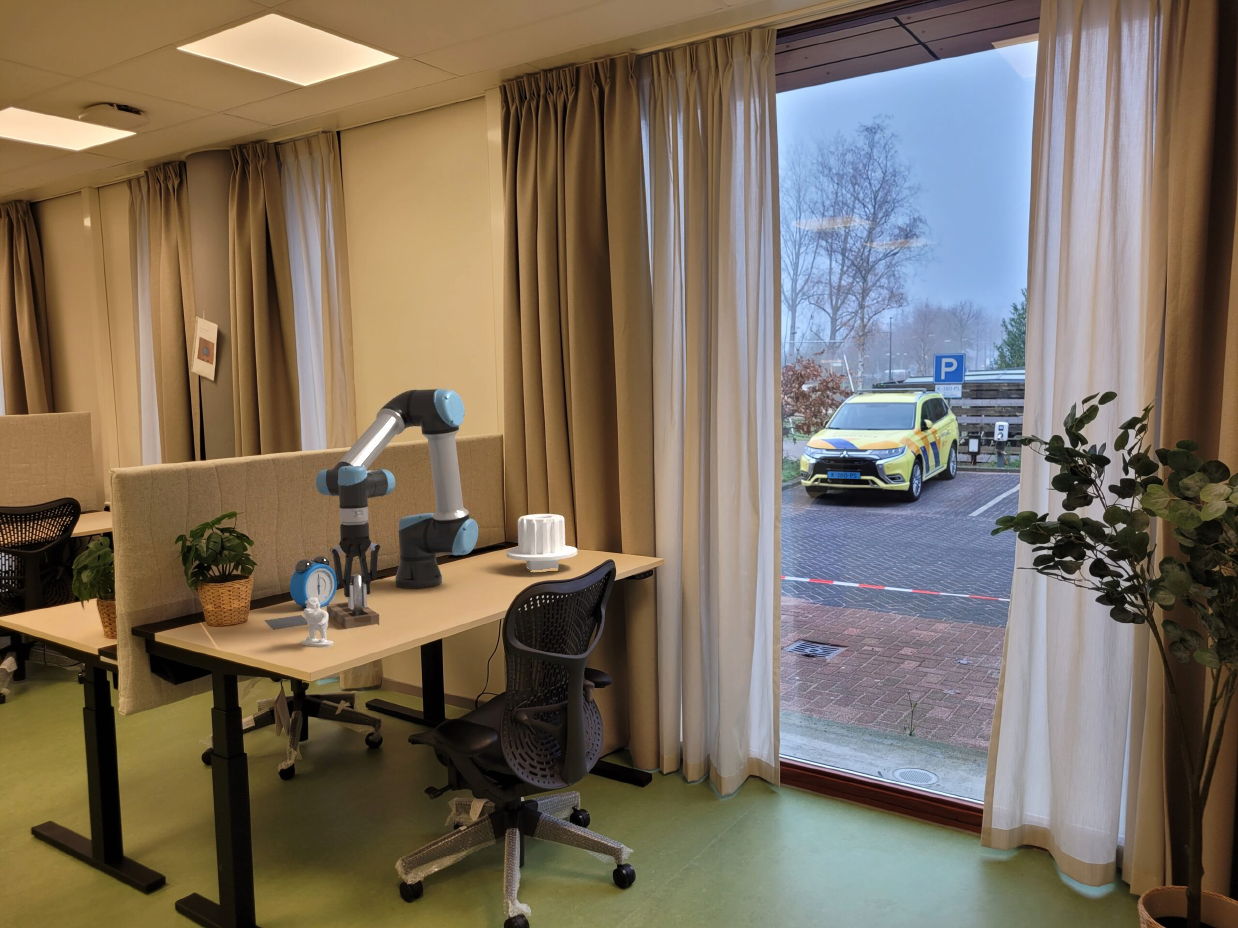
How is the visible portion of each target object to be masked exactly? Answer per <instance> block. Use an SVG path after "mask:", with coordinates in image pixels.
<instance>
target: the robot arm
mask: <svg viewBox="0 0 1238 928" xmlns="http://www.w3.org/2000/svg"><path fill="white" fill-rule="evenodd" d="M465 411H466V409H465V405H464V402H463V399H462V398H461V396H460V395H459V394H458V393H457V392H456V391H454V390H452V389H446V388H445V389H444V388H431V389H410V390H406V391H404V392H401V393H399V394H397V395H396V396H395V397H393V398H392V399H390V400H389V401H388V402H386V403H385V404H384V405H383V406H382V407H381V408H380V409H379V411H377V413H376V418H375V420H374V421H373V422H372V423H371V425H370V426H368V428H367V429H366V430H365V432H364V433H363V434H362V435H361V436H359V438H358V439H357V440H356V442H355V443H354V444H353V445H352V446H351V447H350V448H349V449H348V451H347V452H346V453H344V455H343V456H342V457H341V458H340V459H339V461H338V462H337V463H336V464H335V465H334V467H333V468H331V469H330V468H327V469H322V470H320V471H319V472H318V473H317V474H316V477H315V487H316V490H317V491H318V492H319V494H321V495H323V496H331V497H338V498H339V509H338V510H339V523H340V525H339V530H340V532H339V533H340V540H339V543H338V545H337V546H336V547H331V548H330V549H329V552H330V553H331V556H332V557H333V564H334V565H333V566H334V572H335V574H336V581H337V584H339V585H343V595H344V597H345V598H347V602H348V608H350V609H354V600H353V585H351V575H352V568H353V561H354V558H355V557H358V560H359V567H360V571H361V575H362V585H363V607H364V608H366V607H368V598H367V597H368V595H370V593H371V585H370V584H371V583H372V581H376V580H377V572H378V556H379V551H380V548H381V545H380V544H377V543H375V542H372V540H371V538H370V525H369V523H368V521H369V504H368V503H369V501H368V500H369V499H371V498H378V497H384V496H387V495H389V494H391V493H392V492H393V491H394V490H395V487H396V477H395V476H394V473H392V472H391V471H390V470H388V469H379V468H378V469H375V470H374V469H372V470H371V469H369V467H370V466H371V465H372V464H373V462H375V460H376V459H377V458H378V457H379V455H380V454H381V453H382V452H383V451H384V449H385V448H386V447H387V446H388V445H389V443H390V442H391V441H392V440H393V439H394V437H395V436H396V435H400V434H402V433H403V432H404V431H405V429H408V428H410V427H412V428H413V427H420V428H421V435H423V436H424V437H425V438H426V439H427V445H428V453H429V461H430V468H431V475H432V477H431V478H432V484H433V492H434V500H435V506H436V510H435V512H434V513H433V512H425V513H418V514H412V515H407V516H403V517H401V518H400V519H399V521H398V530H397V532H398V543H399V544H398V547H399V564H398V567H397V571H396V575H395V579H394V580H395V581H394V582H395V586H396V587H398V588H402V589H423V588H430V587H436V586H439V585H441V584H442V583H443V575H442V573H441V570H440V567H439V564H438V562H437V555H441V554H442V555H453V556H465V555H468V554H469V553H471V552H472V551H473V549H474V548H475V546H476V543H477V542H478V537H479V525H478V523H477V521H476V520H475V519H473V518H470V512H469V510H468V509H467V508H465V507H464V500H463V493H462V483H461V476H460V468H459V457H458V449H457V440H456V435H457V433H458V432H459V431H460V426H461V425H462V424H463V422H464V421H465V418H464V417H465ZM368 469H369V470H368ZM368 549H369V550H370V558H369V559H370V561H369V564H370V565H369V568H368V562H367V555H366V552H368ZM341 551H342V552H343V553H344V554H345V561H344V562H345V563H344V571H343V569H342V561H341V556H340V555H341Z"/></svg>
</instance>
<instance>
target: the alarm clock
mask: <svg viewBox="0 0 1238 928" xmlns="http://www.w3.org/2000/svg"><path fill="white" fill-rule="evenodd" d="M330 564H331V563H330V560H329V559H328V557H326V556H325V555H318V556H316V557H314V558H312V559H310V560H309V559H307V558H304V559H301V560H299V561H297V562H296V564H295V565H294V570H295V571H294V572H293V574H292V576H291V579H290V582H289V583H290V584H289V593H290V596H291V598H292V600H293V601H294V602H295V604H297V605H299V606H301V607H306V606H307V603H305V601H306V600H308V599H309V598H313V597H317V598H318V602H319V604H320V608H323V607H327V606H326V605H330V602H332V600H333V599H334V597H335V594H336V591H337V588H338V583H337V581H336V574H335V570H334V569H333V568H332V567H331V566H330Z"/></svg>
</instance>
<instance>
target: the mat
mask: <svg viewBox="0 0 1238 928" xmlns="http://www.w3.org/2000/svg"><path fill="white" fill-rule="evenodd" d="M264 622H265V623H266V624H267V626H269V627H270V628H271V629H272V630H275V631H276V630H281V629H287V628H293V627H294V628H295V627H300V626H301V627H302V626H307V625H308V624H307V621H306V619H305V616H303V615H301V614H299V615H292V616H285V617H278V618H277V617H276V618H271V619H265V620H264ZM308 626H309V625H308Z"/></svg>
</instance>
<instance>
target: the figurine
mask: <svg viewBox="0 0 1238 928" xmlns="http://www.w3.org/2000/svg"><path fill="white" fill-rule="evenodd" d="M305 603H307V606H306V608H303V610H304V611H303V614H304V618H305V619H306V621H307V624H308V628H309V629H308V633H309V636H307V637H306V638H305V639H302V640H300V644H301V645H303V646H309V647H316V648H327V647H332V646H333V645H334V641H333V640H329V639H327V637H328V636H327V629H328V627H329V617H330V616H329V615H328V613H327V610H324V609H321V607H320V604H319V602H318V598H317V597H313V598H309V599H308V600H306V601H305ZM317 631H318V632H319V635H320V638H316V637H317V633H316V632H317Z"/></svg>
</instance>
